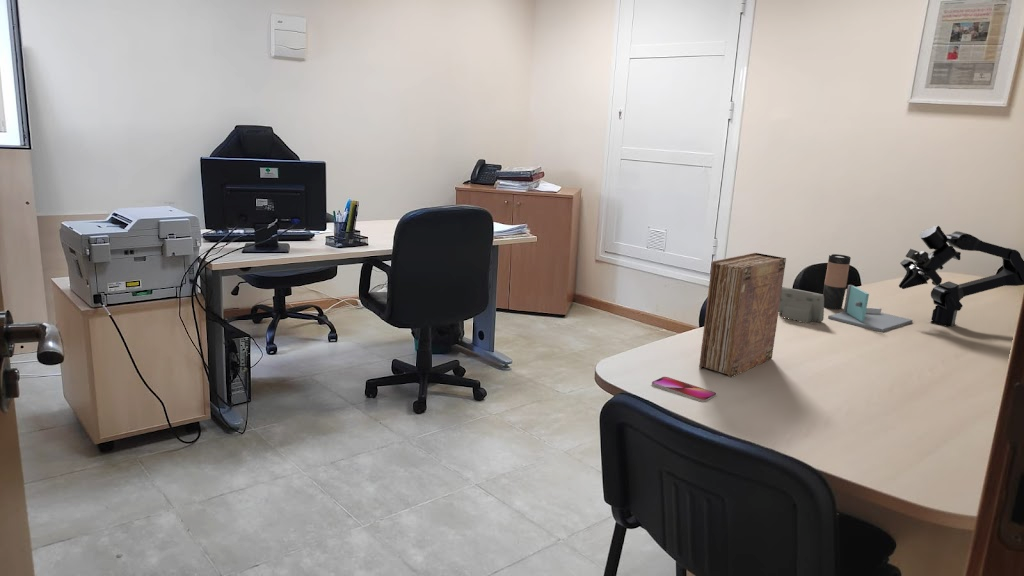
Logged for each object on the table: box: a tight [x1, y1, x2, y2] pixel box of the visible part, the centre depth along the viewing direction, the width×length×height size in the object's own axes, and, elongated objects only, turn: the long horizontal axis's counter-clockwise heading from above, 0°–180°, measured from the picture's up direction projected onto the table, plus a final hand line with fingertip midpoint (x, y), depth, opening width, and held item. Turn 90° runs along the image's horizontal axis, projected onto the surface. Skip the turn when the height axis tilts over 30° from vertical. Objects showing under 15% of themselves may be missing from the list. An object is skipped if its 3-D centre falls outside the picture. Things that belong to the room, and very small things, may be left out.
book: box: [698, 252, 787, 378], centre depth 194 cm, size 25×9×30 cm, turn 135°
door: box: [843, 284, 870, 322], centre depth 250 cm, size 14×3×10 cm, turn 178°
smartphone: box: [651, 376, 717, 403], centre depth 176 cm, size 7×1×15 cm
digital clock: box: [778, 286, 825, 324], centre depth 249 cm, size 16×9×11 cm, turn 37°
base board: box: [827, 306, 913, 333], centre depth 252 cm, size 19×24×3 cm
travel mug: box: [822, 253, 852, 310], centre depth 267 cm, size 8×8×20 cm
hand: (900, 287), depth 250 cm, fingers closed
